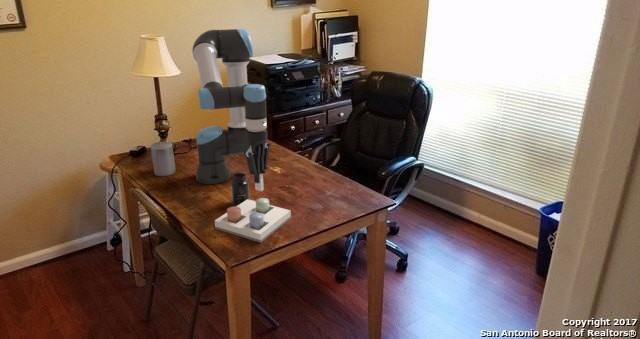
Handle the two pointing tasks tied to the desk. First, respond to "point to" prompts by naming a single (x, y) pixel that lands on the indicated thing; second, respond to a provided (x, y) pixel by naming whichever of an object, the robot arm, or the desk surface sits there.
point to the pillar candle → (163, 158)
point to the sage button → (262, 205)
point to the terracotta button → (234, 214)
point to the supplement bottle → (240, 189)
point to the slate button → (256, 220)
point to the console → (242, 228)
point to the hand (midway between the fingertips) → (259, 189)
